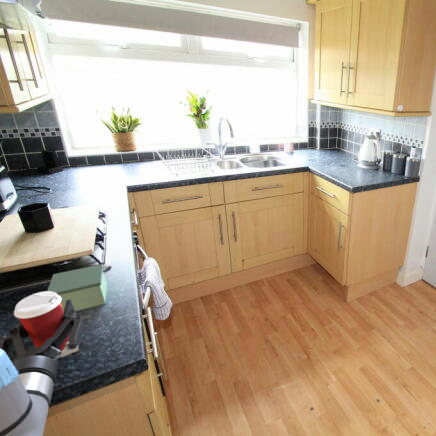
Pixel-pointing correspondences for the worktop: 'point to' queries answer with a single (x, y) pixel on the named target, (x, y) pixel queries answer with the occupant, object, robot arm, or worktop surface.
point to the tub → (81, 287)
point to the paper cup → (41, 316)
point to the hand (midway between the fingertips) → (50, 309)
